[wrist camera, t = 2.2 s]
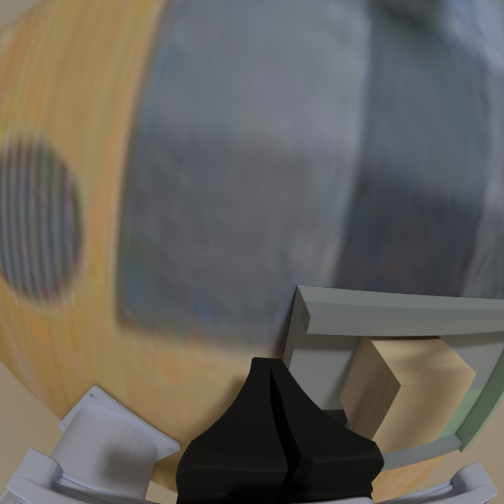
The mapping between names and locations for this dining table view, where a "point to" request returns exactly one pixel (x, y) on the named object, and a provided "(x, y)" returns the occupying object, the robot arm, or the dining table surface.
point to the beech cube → (403, 389)
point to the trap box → (397, 324)
